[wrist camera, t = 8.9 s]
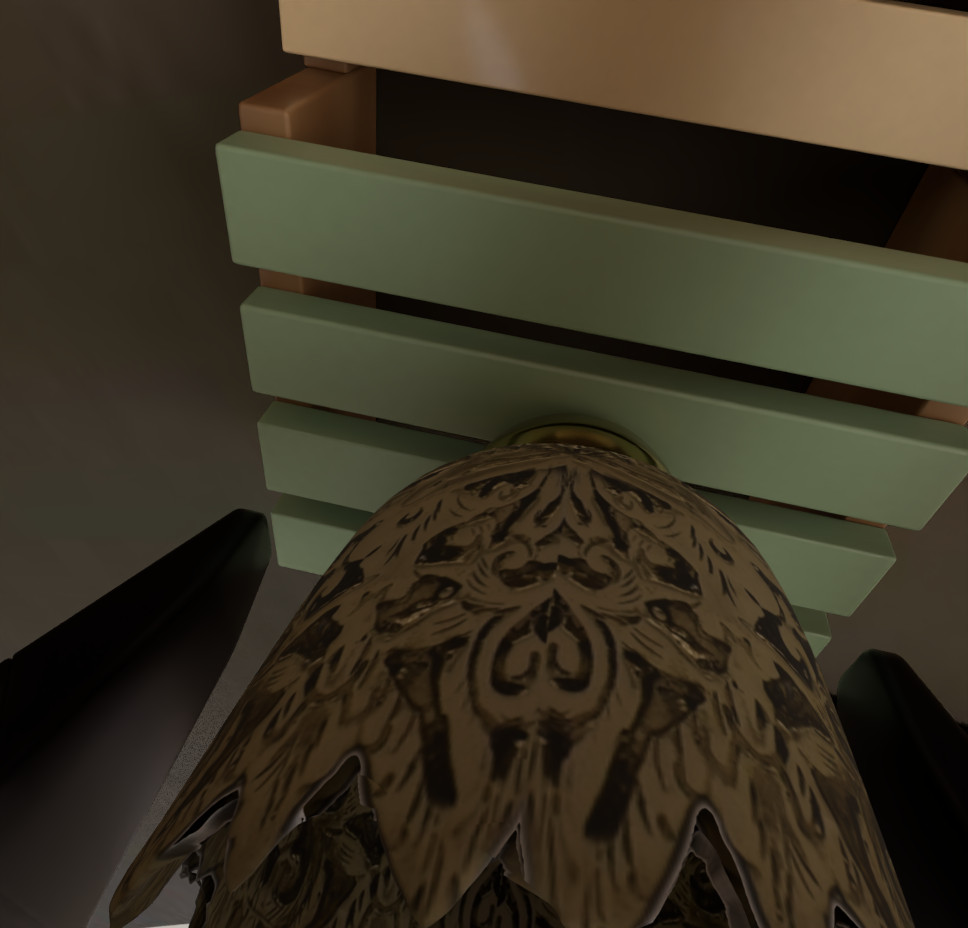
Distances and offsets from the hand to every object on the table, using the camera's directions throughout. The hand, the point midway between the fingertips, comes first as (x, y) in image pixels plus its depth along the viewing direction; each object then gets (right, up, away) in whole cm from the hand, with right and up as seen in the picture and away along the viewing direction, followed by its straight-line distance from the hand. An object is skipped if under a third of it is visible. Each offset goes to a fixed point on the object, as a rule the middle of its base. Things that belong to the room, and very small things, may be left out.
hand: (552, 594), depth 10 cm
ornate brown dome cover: (+1, +2, +2) cm, 3 cm away
